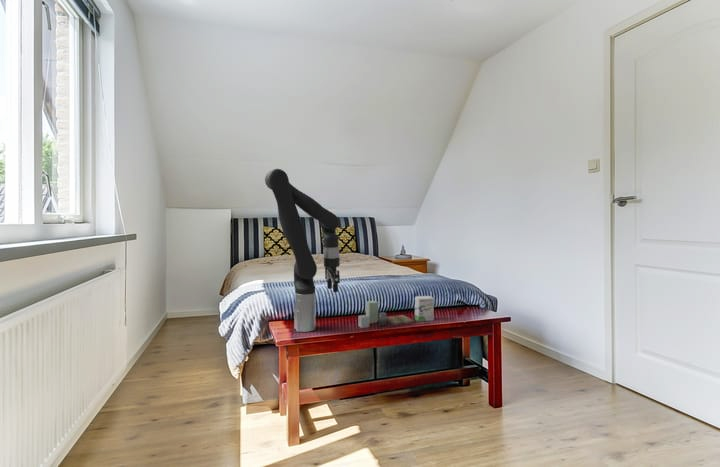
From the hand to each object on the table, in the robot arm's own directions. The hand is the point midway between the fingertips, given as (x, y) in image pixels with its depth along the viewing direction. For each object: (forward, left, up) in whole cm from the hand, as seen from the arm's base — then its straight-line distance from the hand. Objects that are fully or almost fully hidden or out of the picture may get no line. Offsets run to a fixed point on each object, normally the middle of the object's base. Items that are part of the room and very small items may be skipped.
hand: (332, 290), depth 187 cm
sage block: (+21, 0, -17) cm, 27 cm away
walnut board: (+34, -4, -17) cm, 38 cm away
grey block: (+14, -6, -17) cm, 23 cm away
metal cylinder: (+23, -8, -17) cm, 30 cm away
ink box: (+47, -7, -18) cm, 50 cm away
